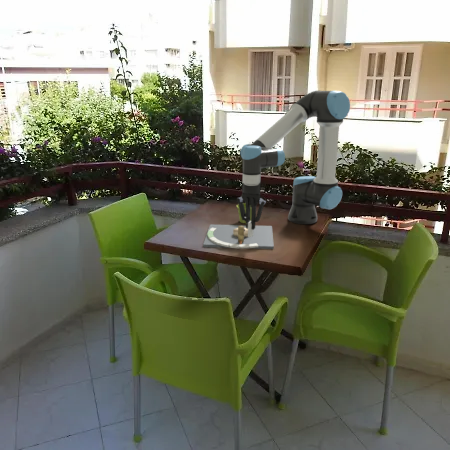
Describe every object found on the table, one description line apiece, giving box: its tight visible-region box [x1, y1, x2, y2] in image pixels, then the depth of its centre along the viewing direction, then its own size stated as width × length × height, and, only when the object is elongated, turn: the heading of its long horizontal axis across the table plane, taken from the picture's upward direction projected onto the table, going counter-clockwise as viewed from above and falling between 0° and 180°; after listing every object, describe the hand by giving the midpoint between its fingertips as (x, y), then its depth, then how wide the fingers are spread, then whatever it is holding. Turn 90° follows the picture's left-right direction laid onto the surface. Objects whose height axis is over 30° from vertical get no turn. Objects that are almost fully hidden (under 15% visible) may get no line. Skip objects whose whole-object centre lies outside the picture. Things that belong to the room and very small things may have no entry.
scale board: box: [202, 224, 275, 250], centre depth 180 cm, size 31×29×2 cm
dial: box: [233, 226, 248, 244], centre depth 176 cm, size 17×8×7 cm, turn 175°
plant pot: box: [236, 202, 252, 224], centre depth 201 cm, size 9×9×9 cm
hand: (250, 235), depth 170 cm, fingers closed
